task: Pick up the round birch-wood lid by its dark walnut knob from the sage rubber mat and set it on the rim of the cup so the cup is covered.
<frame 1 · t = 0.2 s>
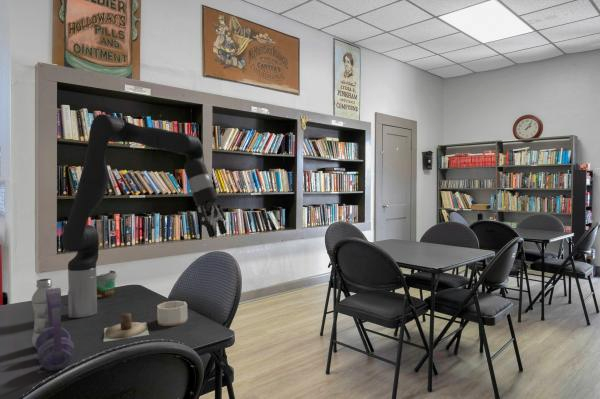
hand: (218, 235, 133), 31 cm above the table, tool tilted 20°, fingers open, 8 cm apart
headphones: (55, 363, 108), on the table
lid: (126, 331, 130), resting on mat
plastic bottle: (45, 347, 119), on the table
mat: (126, 332, 130), on the table
cup: (172, 321, 140), on the table
food container: (108, 296, 175), on the table
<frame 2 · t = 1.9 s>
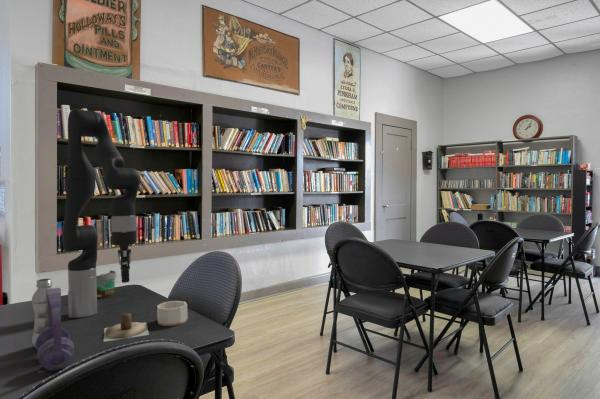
hand: (125, 279, 129), 17 cm above the table, tool pointing down, fingers open, 8 cm apart
nothing on the table moved.
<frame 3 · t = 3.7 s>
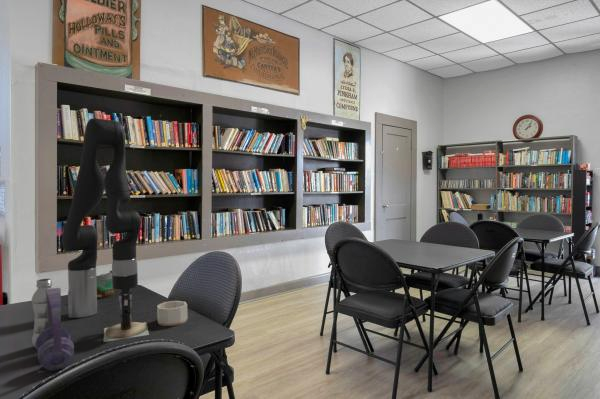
hand: (126, 325, 130), 2 cm above the table, tool pointing down, fingers closed on lid, 3 cm apart
lid: (126, 331, 130), resting on mat, touching gripper
everything else where it was.
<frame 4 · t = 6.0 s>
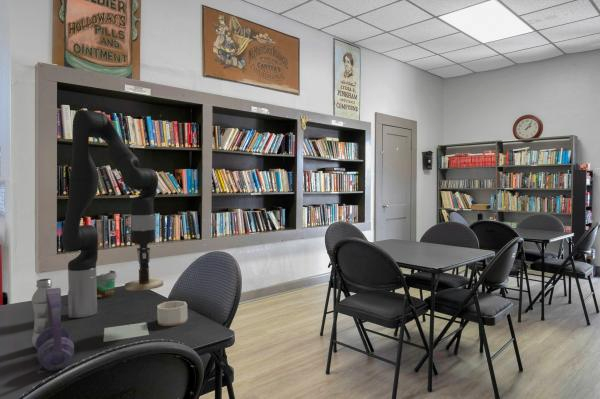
hand: (144, 279, 133), 16 cm above the table, tool pointing down, fingers closed on lid, 3 cm apart
lid: (144, 286, 133), point 14 cm above the table, touching gripper
everything else where it was.
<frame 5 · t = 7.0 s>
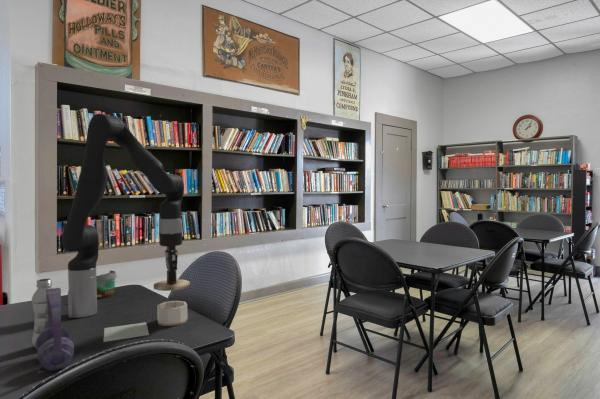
hand: (171, 280, 139), 15 cm above the table, tool pointing down, fingers closed on lid, 3 cm apart
lid: (171, 286, 139), point 13 cm above the table, touching gripper
everything else where it was.
when the fingers open (10 cm above the table, at t = 8.0 s): lid drops 2 cm, resting on cup.
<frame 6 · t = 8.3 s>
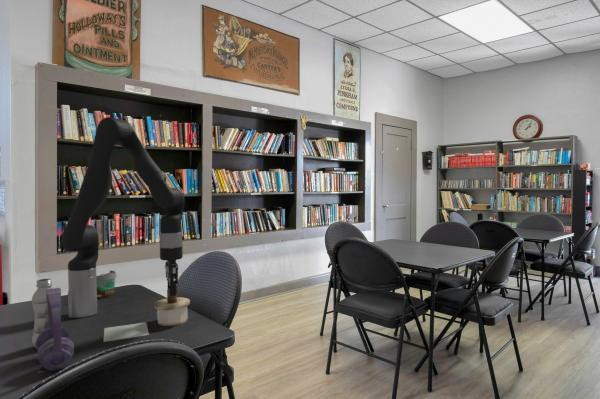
hand: (172, 293, 140), 10 cm above the table, tool pointing down, fingers open, 5 cm apart
lid: (172, 304, 140), point 6 cm above the table, touching cup
everything else where it was.
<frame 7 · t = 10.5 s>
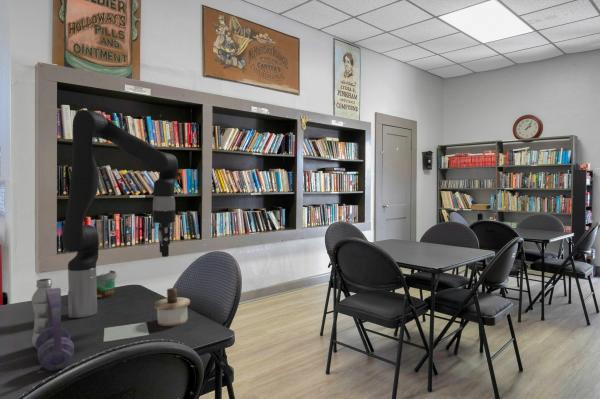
hand: (163, 254, 142), 23 cm above the table, tool pointing down, fingers open, 8 cm apart
nothing on the table moved.
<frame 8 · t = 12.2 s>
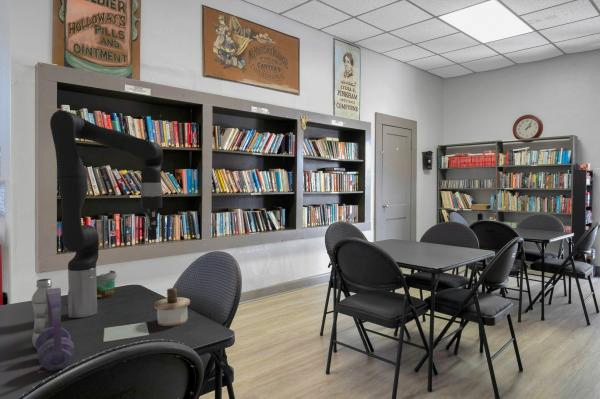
hand: (152, 238, 150), 28 cm above the table, tool pointing down, fingers open, 8 cm apart
nothing on the table moved.
at the end: lid 0.1 cm off-centre on the cup, point 6.0 cm above the cup's base; lid tilted 0°; the gripper is holding nothing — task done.
